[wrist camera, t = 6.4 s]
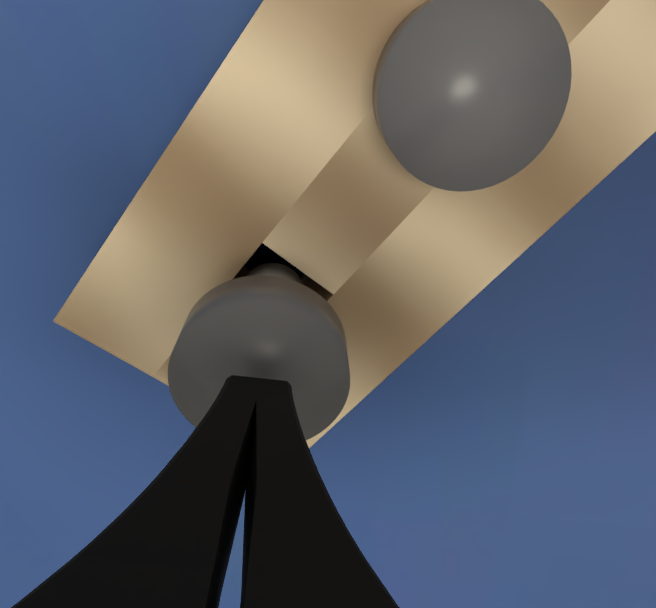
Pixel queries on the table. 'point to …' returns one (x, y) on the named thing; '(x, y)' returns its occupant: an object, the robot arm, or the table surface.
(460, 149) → the plunger
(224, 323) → the plunger
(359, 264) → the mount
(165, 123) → the table surface
